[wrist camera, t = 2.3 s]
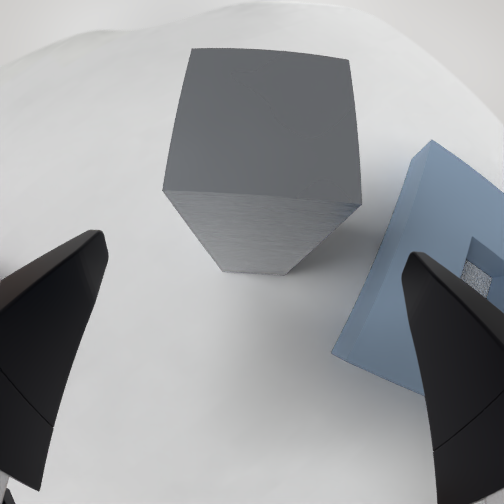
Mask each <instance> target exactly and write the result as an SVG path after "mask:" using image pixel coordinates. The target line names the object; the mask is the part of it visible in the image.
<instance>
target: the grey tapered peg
mask: <svg viewBox="0 0 504 504" xmlns="http://www.w3.org/2000/svg"><path fill="white" fill-rule="evenodd" d="M162 191H163V192H164V194H165V195H166V196H167V198H168V199H169V200H170V202H171V203H172V205H173V206H174V207H175V209H176V210H177V211H178V213H179V214H180V215H181V217H182V218H183V220H184V221H185V222H186V224H187V225H188V226H189V228H190V229H191V230H192V232H193V233H194V234H195V236H196V237H197V238H198V240H199V241H200V242H201V244H202V245H203V247H204V248H205V249H206V251H207V252H208V253H209V254H210V256H211V257H212V258H213V260H214V261H215V262H216V264H217V265H218V266H219V268H220V269H221V270H222V271H223V272H238V273H253V274H268V275H285V274H286V273H288V272H289V271H290V270H291V269H292V268H293V267H294V266H295V265H296V264H298V263H299V262H300V261H301V260H302V259H303V258H304V257H305V256H306V255H308V254H309V253H310V252H311V251H312V250H313V249H314V248H315V247H316V246H317V245H319V244H320V243H321V242H322V241H323V240H324V239H325V238H326V237H327V236H328V235H329V234H330V233H332V232H333V231H334V230H335V229H336V228H337V227H338V226H339V225H340V224H341V223H342V222H343V221H344V220H346V219H347V218H348V217H349V216H350V215H351V214H352V213H353V212H354V211H355V210H356V209H357V208H358V207H359V206H360V205H362V194H361V173H360V157H359V144H358V132H357V121H356V112H355V103H354V94H353V86H352V79H351V72H350V65H349V60H346V59H340V58H334V57H328V56H321V55H314V54H306V53H297V52H287V51H275V50H260V49H237V48H199V49H192V50H191V54H190V58H189V62H188V66H187V70H186V74H185V78H184V82H183V86H182V91H181V95H180V99H179V104H178V109H177V113H176V118H175V123H174V128H173V133H172V138H171V143H170V149H169V154H168V160H167V165H166V171H165V177H164V183H163V190H162Z"/></svg>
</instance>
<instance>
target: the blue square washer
mask: <svg viewBox="0 0 504 504" xmlns="http://www.w3.org/2000/svg"><path fill="white" fill-rule="evenodd" d="M413 251H417V252H424V253H426V254H427V255H429V256H430V257H431V258H433V259H434V260H436V261H437V262H438V263H440V264H441V265H442V266H444V267H445V268H447V269H448V270H449V271H451V272H452V273H453V274H455V275H456V276H457V277H459V278H460V277H461V274H462V271H463V267H464V264H465V260H466V259H467V260H468V261H470V262H471V263H472V264H474V265H475V266H477V267H478V268H480V269H481V270H482V271H484V272H485V273H486V274H488V275H489V276H491V277H492V282H491V285H490V289H489V292H488V296H487V300H488V301H490V302H491V303H492V304H493V305H494V306H496V307H497V308H498V309H499V310H501V311H502V312H503V313H504V193H503V192H502V191H500V190H499V189H498V188H497V187H496V186H494V185H493V184H492V183H491V182H489V181H488V180H487V179H486V178H484V177H483V176H482V175H481V174H479V173H478V172H477V171H475V170H474V169H473V168H472V167H470V166H469V165H468V164H466V163H465V162H463V161H462V160H461V159H459V158H458V157H457V156H455V155H454V154H452V153H451V152H449V151H448V150H447V149H445V148H444V147H442V146H441V145H439V144H438V143H436V142H435V141H433V140H431V141H430V142H429V143H428V144H427V145H426V146H425V147H424V148H423V149H422V150H421V151H420V152H418V153H417V154H416V155H415V156H414V157H413V158H412V160H411V163H410V166H409V169H408V172H407V176H406V178H405V181H404V184H403V187H402V190H401V193H400V196H399V199H398V201H397V204H396V207H395V210H394V212H393V215H392V218H391V220H390V223H389V226H388V228H387V231H386V233H385V236H384V238H383V241H382V243H381V246H380V248H379V251H378V253H377V256H376V258H375V260H374V263H373V265H372V268H371V270H370V272H369V275H368V277H367V279H366V281H365V284H364V286H363V288H362V290H361V293H360V295H359V297H358V299H357V301H356V303H355V306H354V308H353V310H352V312H351V314H350V316H349V318H348V320H347V322H346V324H345V326H344V328H343V330H342V332H341V334H340V336H339V338H338V340H337V342H336V344H335V346H334V348H333V350H332V352H331V353H332V354H334V355H335V356H337V357H339V358H341V359H343V360H344V361H346V362H349V363H351V364H353V365H355V366H357V367H359V368H362V369H364V370H366V371H368V372H370V373H373V374H375V375H377V376H379V377H381V378H384V379H386V380H388V381H390V382H393V383H395V384H397V385H400V386H402V387H404V388H407V389H409V390H411V391H414V392H416V393H418V394H421V395H423V396H425V395H424V389H423V384H422V379H421V374H420V370H419V365H418V360H417V356H416V352H415V347H414V343H413V339H412V335H411V331H410V327H409V322H408V317H407V310H406V304H405V298H404V293H403V287H402V281H401V276H402V272H403V269H404V267H405V264H406V262H407V259H408V256H409V254H410V253H411V252H413Z"/></svg>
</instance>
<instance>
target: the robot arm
mask: <svg viewBox="0 0 504 504" xmlns="http://www.w3.org/2000/svg"><path fill="white" fill-rule="evenodd" d="M107 263H108V250H107V246H106V241H105V237H104V234H103V232H102V231H101V230H88V231H86V232H84V233H82V234H80V235H79V236H77V237H75V238H73V239H71V240H69V241H68V242H66V243H64V244H62V245H60V246H58V247H57V248H55V249H53V250H51V251H50V252H48V253H46V254H44V255H43V256H41V257H39V258H37V259H36V260H34V261H32V262H31V263H29V264H27V265H26V266H24V267H22V268H21V269H19V270H17V271H16V272H14V273H12V274H11V275H9V276H7V277H6V278H4V279H3V280H1V282H0V504H15V502H14V499H13V497H12V495H11V492H10V490H9V489H8V488H6V487H7V483H8V480H9V477H11V478H13V479H15V480H17V481H18V482H20V483H22V484H24V485H26V486H28V487H30V488H32V489H34V490H37V491H40V487H41V483H42V477H43V472H44V467H45V463H46V458H47V453H48V449H49V445H50V441H51V437H52V433H53V427H54V424H55V420H56V417H57V413H58V410H59V406H60V403H61V399H62V396H63V392H64V389H65V386H66V383H67V380H68V376H69V373H70V370H71V367H72V364H73V361H74V358H75V356H76V353H77V350H78V347H79V344H80V341H81V339H82V336H83V333H84V331H85V328H86V325H87V323H88V320H89V318H90V315H91V312H92V310H93V307H94V305H95V302H96V299H97V295H98V292H99V289H100V285H101V282H102V279H103V275H104V272H105V269H106V266H107ZM401 281H402V287H403V293H404V298H405V304H406V310H407V317H408V322H409V327H410V331H411V335H412V339H413V343H414V347H415V352H416V356H417V360H418V365H419V370H420V374H421V379H422V384H423V389H424V395H425V400H426V406H427V412H428V418H429V424H430V431H431V438H432V446H433V451H434V452H433V456H434V465H435V476H436V488H437V504H474V503H476V502H479V501H481V500H483V499H484V501H485V504H504V313H503V312H502V311H501V310H499V309H498V308H497V307H496V306H494V305H493V304H492V303H491V302H490V301H488V300H487V299H486V298H485V297H483V296H482V295H481V294H479V293H478V292H477V291H476V290H474V289H473V288H472V287H470V286H469V285H468V284H467V283H465V282H464V281H463V280H461V279H460V278H459V277H457V276H456V275H455V274H453V273H452V272H451V271H449V270H448V269H447V268H445V267H444V266H442V265H441V264H440V263H438V262H437V261H436V260H434V259H433V258H431V257H430V256H429V255H427V254H426V253H424V252H417V251H413V252H411V253H410V254H409V256H408V259H407V262H406V264H405V267H404V269H403V272H402V276H401Z"/></svg>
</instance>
